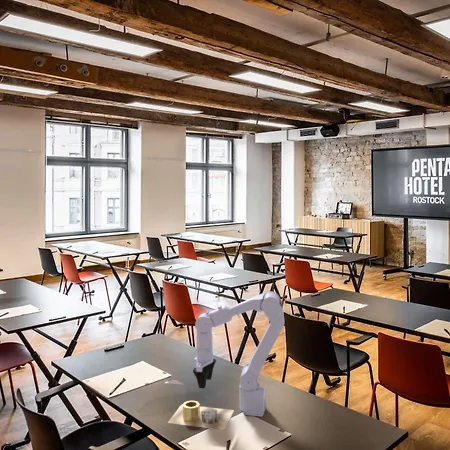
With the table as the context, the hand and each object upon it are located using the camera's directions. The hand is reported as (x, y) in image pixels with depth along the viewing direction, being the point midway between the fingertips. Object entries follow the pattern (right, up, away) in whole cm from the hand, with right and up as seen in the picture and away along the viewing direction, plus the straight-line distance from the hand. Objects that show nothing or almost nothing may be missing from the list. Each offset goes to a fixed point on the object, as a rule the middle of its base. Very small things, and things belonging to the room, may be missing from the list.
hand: (205, 383), depth 175 cm
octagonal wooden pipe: (-4, -9, -8) cm, 13 cm away
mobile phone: (-12, -9, +18) cm, 23 cm away
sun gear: (+2, -10, -10) cm, 14 cm away
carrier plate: (-1, -10, -7) cm, 12 cm away
